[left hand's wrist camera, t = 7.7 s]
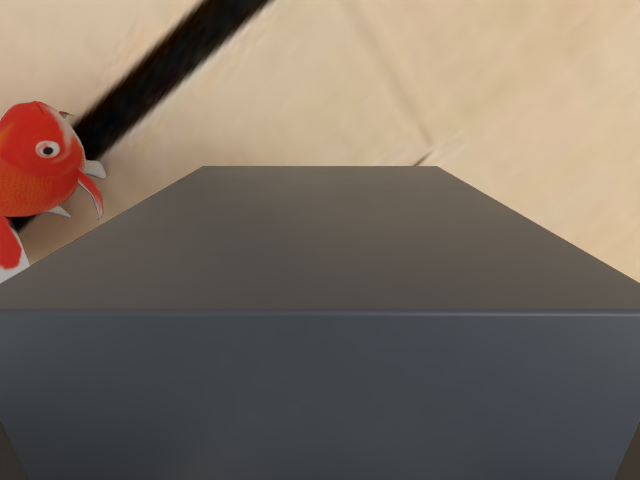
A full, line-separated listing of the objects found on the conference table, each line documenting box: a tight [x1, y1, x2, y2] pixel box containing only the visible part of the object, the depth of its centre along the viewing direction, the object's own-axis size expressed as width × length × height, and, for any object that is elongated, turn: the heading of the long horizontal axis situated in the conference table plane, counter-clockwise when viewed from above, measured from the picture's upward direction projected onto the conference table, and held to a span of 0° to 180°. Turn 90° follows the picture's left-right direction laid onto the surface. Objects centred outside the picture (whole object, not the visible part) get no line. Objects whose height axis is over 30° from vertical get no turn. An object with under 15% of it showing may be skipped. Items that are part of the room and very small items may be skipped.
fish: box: [0, 101, 106, 283], centre depth 22 cm, size 11×16×10 cm
